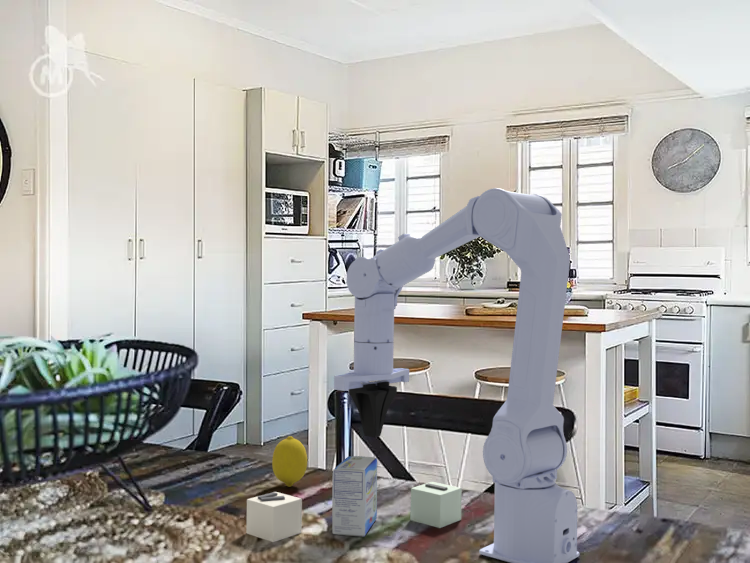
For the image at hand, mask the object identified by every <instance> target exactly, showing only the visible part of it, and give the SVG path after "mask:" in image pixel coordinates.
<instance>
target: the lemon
mask: <svg viewBox="0 0 750 563" xmlns="http://www.w3.org/2000/svg"><path fill="white" fill-rule="evenodd" d="M271 461H272V462H271V464H272V466H271V467H272V471H273V474H274V476H275V477H276V478H277V480H279V481H280V482H282V483H284V484H285V485H286V486H287V487H292V486H294V484H295V483H297V482H299V481H300V480H302V478H303V477H304V475H305V474H306V471H307V468H308V455H307V450H306V448H305V446H304V445H303V443H302V442H301V441H300V440H299V439H297V438H294V437H293V436H291V435H290V436H287V437H286V438H285V439H282V440H280V441H279V442H278V443H277V444H276V446H275V447H274V450H273V453H272V460H271Z"/></svg>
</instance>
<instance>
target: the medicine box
mask: <svg viewBox="0 0 750 563" xmlns="http://www.w3.org/2000/svg"><path fill="white" fill-rule="evenodd" d="M331 482H332V484H331V486H332V490H331V491H332V496H331V497H332V501H331V502H332V504H331V505H332V509H331V510H332V511H331V512H332V513H331V514H332V515H331V516H332V517H331V519H332V520H331V521H332V534H333V535H339V536H346V537H347V536H348V537H349V536H350V537H351V536H352V537H362V538H364V537H366V535H367V533H368V532H369V530H370V528H372V525H374V522H376V520H377V518H378V517H377V516H378V514H377V511H378V510H377V508H378V506H377V505H378V458H377V457H373V456H362V455H361V456H360V455H359V456H357V455H355V456H354V455H352V456H347V457H346V458H344V460H342V461H341V462H340V463H339V464H338V465H337V466H335V468H334V469H333V470H332V481H331Z"/></svg>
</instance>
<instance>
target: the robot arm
mask: <svg viewBox="0 0 750 563" xmlns="http://www.w3.org/2000/svg"><path fill="white" fill-rule="evenodd" d="M562 216H563V214H562V212H561V211H560V210H559V209H558V208H557V207H556V205H554V204H553V203H552V202H551V201H550V200H549V199H548V198H547V197H545V196H543V195H541V194H535V193H533V194H529V193H523V192H515V191H511V190H510V191H508V190H506V189H502V188H499V187H498V188H497V187H493V188H490V189H488V190H485V191H484V192H482V194H480V195H477V196H474V197H472V198H470V199H469V200H468V202H467V204H466V206H465V207H463V208H462V209H460V210H459V211H458V212H456V213H455V214H453V215H452V216H450V217H449V218H448V219H446V220H445V221H443V222H442V223H440V224H438V225H437V226H435V227H434V228H433V229H431V230H430V231H429V232H427V233H426V234H424V235H423V236H422V235H420V234H416V233H402V234H401V235H399V236H398V238H397V239H398V241H397V242H395V243H393V244H392V245H389V246H388V247H387V248H384V249H383V248H380V249H379V250H377V251H376V252H375V253H376V254H375V255H374V256H373V257H371V258H369V257H367V256H358V257H356V258H355V259H354V260H353V261H352V262H351V263H350V265H349V267H348V269H347V271H346V284H347V289H348V290H349V293H350V294H352V296H353V297H354V326H353V327H354V329H353V332H354V333H353V369H349V370H348V372H346V373H343V374H336V375H334V377H333V390H337V391H340V392H341V391H343V392H345V391H346V392H347V391H348V392H349V395H350V396H351V398H352V400H353V402H354V404H355V407H356V409H357V412H358V415H359V419H360V423H361V426H362V427H361V428H362V431H363V436H364V437H368V438H378V437H381V436H382V430H383V428H384V423H385V420H386V416H387V413H388V411H389V409H390V406H391V405H392V402H393V400H394V398H395V397H396V395H397V394H398V387H397V386H395V385H390V384H395V383H396V384H397V383H401V382H402V383H408V382H410V369H409V368H402V367H397V368H394V351H395V350H394V346H395V345H394V343H395V342H394V337H395V335H394V334H395V310H396V307H397V306H398V297H399V295H400V293H401V292H402V289H403V286H405V285H407V284H409V283H411V282H412V281H414V280H416V279H418V278H420V277H422V276H423V275H425V274H427V273H429V272H431V271H432V270H433V269H434V267H435V263H436V258H438V257H440V256H443V255H445V254H447V253H449V252H451V251H453V250H455V249H457V248H459V247H461V246H464V245H465V244H468V243H470V242H471V241H474V240H475V239H477V238H480V237H481V238H482V239H484V240H485V241H487V242H488V243H490V244H491V245H493V246H495V247H496V248H498V249H500V250H501V251H503V252H504V253H506V254H507V255H508V256H509V257H510V259H511V260H512V261H513V262H514V263H515V265H516V266H517V267H518V269H519V270H520V280H519V289H518V299H517V307H516V308H517V309H516V318H515V324H514V325H515V326H514V334H513V344H512V353H511V361H510V370H509V378H508V386H507V387H508V388H507V397H506V400H505V401H504V403H503V404H502V405H501V407H500V408H499V409H498V410H497V411H496V413H495V415H494V416H493V418H492V426H491V429H490V432H489V433H488V435H487V437H486V439H485V441H484V443H483V446H482V447H483V448H482V458H483V462H484V463H483V464H484V466H485V469H486V470H487V472H488V473H489V475H491V477H492V479H491V480H492V483H494V502H493V503H494V506H493V507H494V509H493V510H494V511H493V513H494V514H493V517H494V519H493V542H492V543H491V544H489V545H487V546H484V547H481V548H480V549H479V550H478V552H479V554H480V555H481V556H482V555H483V556H486V557H488V558H489V557H490V558H493V559H497V560H500V561H504V562H507V563H569V562H571V561H573V560H575V559H576V558H578V557H579V556H580V552H579V551H578V501H577V498H576V495H575V493H574V492H573V491H572V490H570V489H566V488H563V487H561V486H559V485H558V484H557V483H556V481H557V479H558V470H560V468H561V467H562V466H563V464H564V463H565V461H566V458H567V457H568V456H567V455H568V444H567V441H566V437H565V435H564V434H565V432H564V423H565V417H564V416H563V414H561V412H560V411H559V410H558V409H557V408H556V406H555V405H554V399H555V391H556V382H557V374H558V368H559V366H558V365H559V358H560V356H559V355H560V349H561V343H562V342H561V340H562V330H563V324H564V323H563V322H564V317H565V316H564V315H565V306H566V299H567V291H568V290H567V288H568V281H569V273H570V265H571V264H570V259H571V256H570V252H569V249H568V246H567V244H566V240H565V237H564V233H563V231H562V227H561V225H562V223H561V222H562Z"/></svg>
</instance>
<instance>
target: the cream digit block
mask: <svg viewBox="0 0 750 563" xmlns="http://www.w3.org/2000/svg"><path fill="white" fill-rule="evenodd" d="M302 513H303V498H301V497H296V496H293V495H290V494H286V493H283V492H282V493H281V492H277V491H273V492H270V493H265V494H262V495H257V496H255V497H254V496H253V497H250V498H247V499H246V528H245V529H246V531H245V532H246V534H247V535H250V536H253V537H256V538H259V539H262V540H265V541H268V542H272V543H275V542H277V541H280V540H281V541H282V540H283V539H286V538H289V537H293V536H295V535H299V534H302V529H303V528H302V524H303V523H302V519H303V518H302V517H303V516H302V515H303V514H302Z"/></svg>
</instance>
